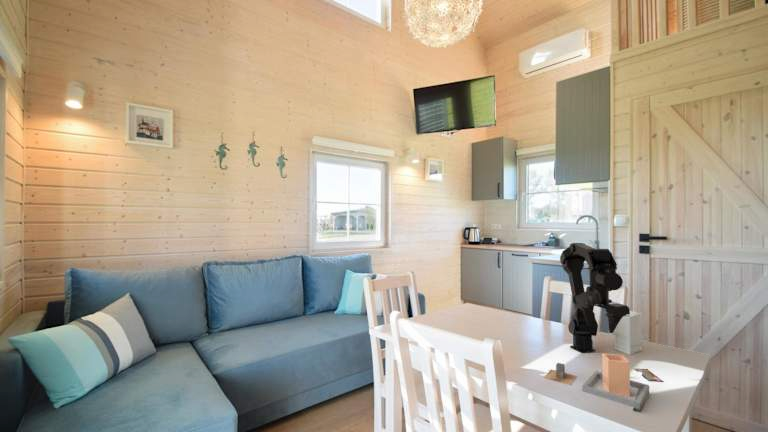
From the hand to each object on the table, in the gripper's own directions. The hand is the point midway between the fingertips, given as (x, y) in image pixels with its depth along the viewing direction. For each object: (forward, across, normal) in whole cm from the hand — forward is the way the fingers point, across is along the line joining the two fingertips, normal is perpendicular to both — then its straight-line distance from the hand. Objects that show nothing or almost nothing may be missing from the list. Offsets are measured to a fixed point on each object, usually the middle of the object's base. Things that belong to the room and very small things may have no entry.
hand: (599, 328), depth 124 cm
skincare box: (+13, -8, +22) cm, 27 cm away
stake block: (+13, +5, -21) cm, 25 cm away
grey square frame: (+13, +17, -12) cm, 25 cm away
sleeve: (+12, +17, -12) cm, 24 cm away
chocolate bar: (+14, +10, +9) cm, 19 cm away
